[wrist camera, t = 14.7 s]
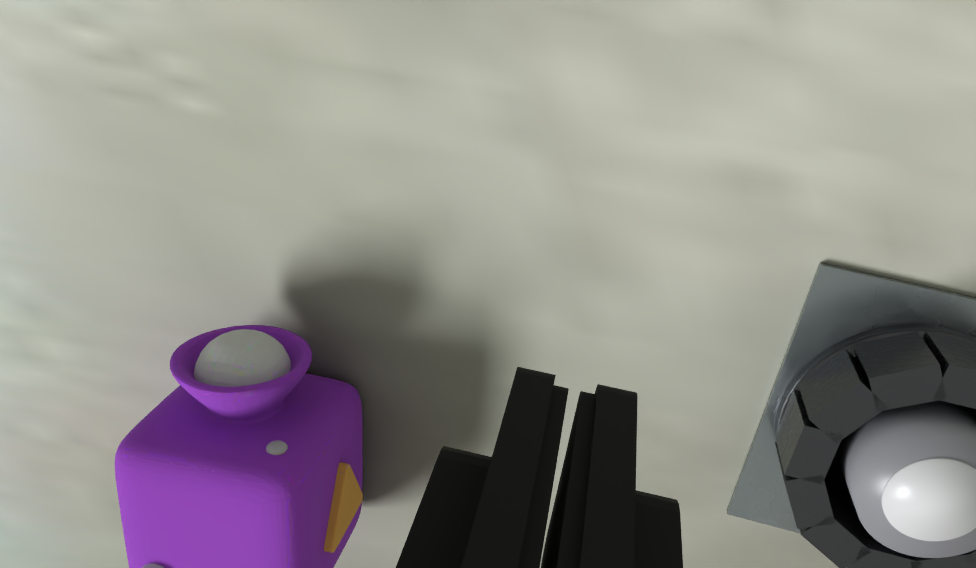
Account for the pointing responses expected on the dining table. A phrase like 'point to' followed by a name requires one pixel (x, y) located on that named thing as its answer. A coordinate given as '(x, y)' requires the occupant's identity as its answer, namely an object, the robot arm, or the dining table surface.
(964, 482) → the grey rounded dome
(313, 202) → the dining table surface
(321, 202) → the dining table surface
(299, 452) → the toy camera
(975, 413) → the lens barrel
